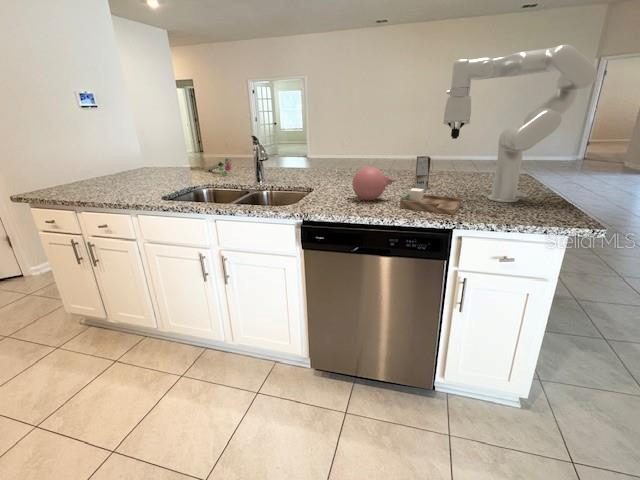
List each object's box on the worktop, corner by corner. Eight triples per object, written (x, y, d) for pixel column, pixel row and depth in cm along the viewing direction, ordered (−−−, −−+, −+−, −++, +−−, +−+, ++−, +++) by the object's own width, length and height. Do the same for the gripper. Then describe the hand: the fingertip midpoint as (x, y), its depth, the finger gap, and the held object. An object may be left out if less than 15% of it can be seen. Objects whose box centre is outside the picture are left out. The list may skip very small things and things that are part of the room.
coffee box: (428, 189, 177) (431, 158, 171) (415, 189, 178) (417, 157, 173) (426, 185, 186) (429, 155, 180) (414, 185, 187) (416, 155, 181)
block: (423, 197, 152) (424, 189, 150) (420, 200, 148) (420, 191, 147) (412, 196, 154) (413, 188, 153) (408, 199, 150) (409, 190, 149)
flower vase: (215, 181, 253) (239, 175, 228) (200, 178, 245) (222, 172, 219) (216, 165, 253) (240, 158, 228) (200, 162, 245) (223, 154, 219)
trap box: (460, 205, 146) (462, 195, 144) (453, 214, 134) (454, 203, 132) (410, 200, 156) (411, 190, 155) (399, 208, 145) (400, 197, 143)
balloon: (393, 205, 149) (395, 170, 143) (349, 203, 154) (349, 169, 149) (396, 197, 163) (398, 164, 157) (355, 195, 168) (355, 164, 163)
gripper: (439, 93, 142) (435, 138, 148) (477, 91, 134) (471, 139, 141) (443, 94, 148) (439, 137, 154) (480, 92, 140) (474, 138, 147)
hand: (454, 138), depth 148 cm, fingers closed
